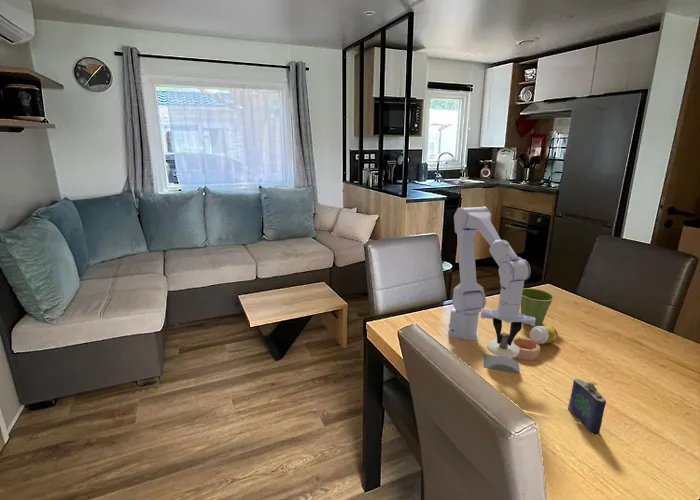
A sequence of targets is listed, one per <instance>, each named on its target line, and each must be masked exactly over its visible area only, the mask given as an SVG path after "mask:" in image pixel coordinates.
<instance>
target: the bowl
mask: <svg viewBox="0 0 700 500" xmlns="http://www.w3.org/2000/svg"><path fill="white" fill-rule="evenodd" d="M512 343H513V344H515V345H516V346H518V348H519V349H520V352H519V355H518V356H516V357H515V358H516V359H518V360H525V361H534V360H537V359H540V354H541V346H540V344H539V343H537V342H535V341H533V340H532V339H531V338H529V337H523V336H515V337H514V339H513V341H512Z"/></svg>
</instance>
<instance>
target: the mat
mask: <svg viewBox="0 0 700 500" xmlns="http://www.w3.org/2000/svg"><path fill="white" fill-rule="evenodd" d="M483 368H484V369H490V370H493V371H494V370H495V371H501V372H506V373H511V374H517V375H521V370H520V364H519V358H506V357H501V356H497V355H495V354H488V353H483Z"/></svg>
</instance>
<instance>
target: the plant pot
mask: <svg viewBox="0 0 700 500" xmlns="http://www.w3.org/2000/svg"><path fill="white" fill-rule="evenodd" d="M554 300H555V296H554V294H553V293H550V292H548V291H545V290H544V289H543V290H542V289H539V288H531V287H530V288H529V287H526V288H525V287H523V292H522V298H521V304H520V314H523V315H526V316H530V317H535V320H536V321H535V326H534V327H536V326H543V323H544V320H545V317H546V315H547V312H548V310H549V307H550V306H551V304H552V301H554ZM527 325H529V326H531V325H530V324H527Z"/></svg>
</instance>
